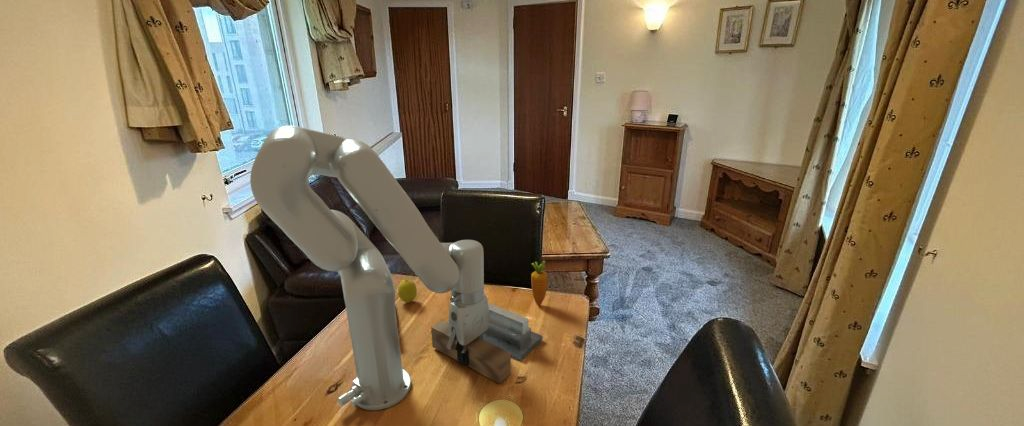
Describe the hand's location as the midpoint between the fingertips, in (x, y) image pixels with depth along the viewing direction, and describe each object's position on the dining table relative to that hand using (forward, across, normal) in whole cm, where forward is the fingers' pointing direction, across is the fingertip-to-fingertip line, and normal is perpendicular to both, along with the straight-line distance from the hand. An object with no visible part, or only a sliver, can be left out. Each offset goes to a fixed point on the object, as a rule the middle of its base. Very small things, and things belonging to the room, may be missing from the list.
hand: (469, 357), depth 100 cm
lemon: (+1, +10, +34) cm, 35 cm away
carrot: (+1, +32, 0) cm, 32 cm away
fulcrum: (+1, +12, 0) cm, 13 cm away
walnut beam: (+1, 0, 0) cm, 1 cm away
